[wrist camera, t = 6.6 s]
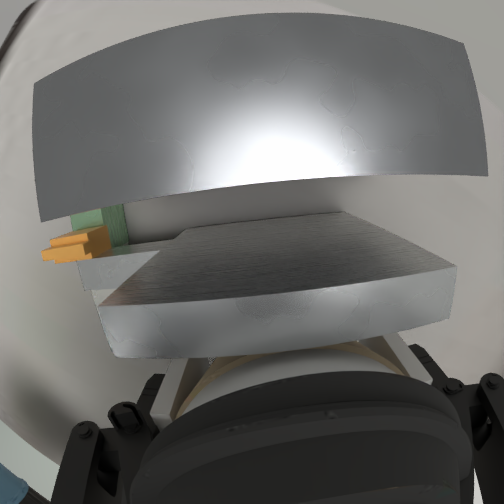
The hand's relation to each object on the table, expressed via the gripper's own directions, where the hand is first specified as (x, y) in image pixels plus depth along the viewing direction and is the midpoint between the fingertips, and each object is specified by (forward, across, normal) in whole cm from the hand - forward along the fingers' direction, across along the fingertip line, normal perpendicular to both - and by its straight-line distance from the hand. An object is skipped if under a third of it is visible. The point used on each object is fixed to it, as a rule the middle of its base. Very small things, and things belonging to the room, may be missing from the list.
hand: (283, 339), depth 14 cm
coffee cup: (+2, 0, -3) cm, 4 cm away
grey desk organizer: (+3, -3, +6) cm, 7 cm away
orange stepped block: (0, -10, +6) cm, 11 cm away
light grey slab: (+3, -3, +5) cm, 6 cm away
